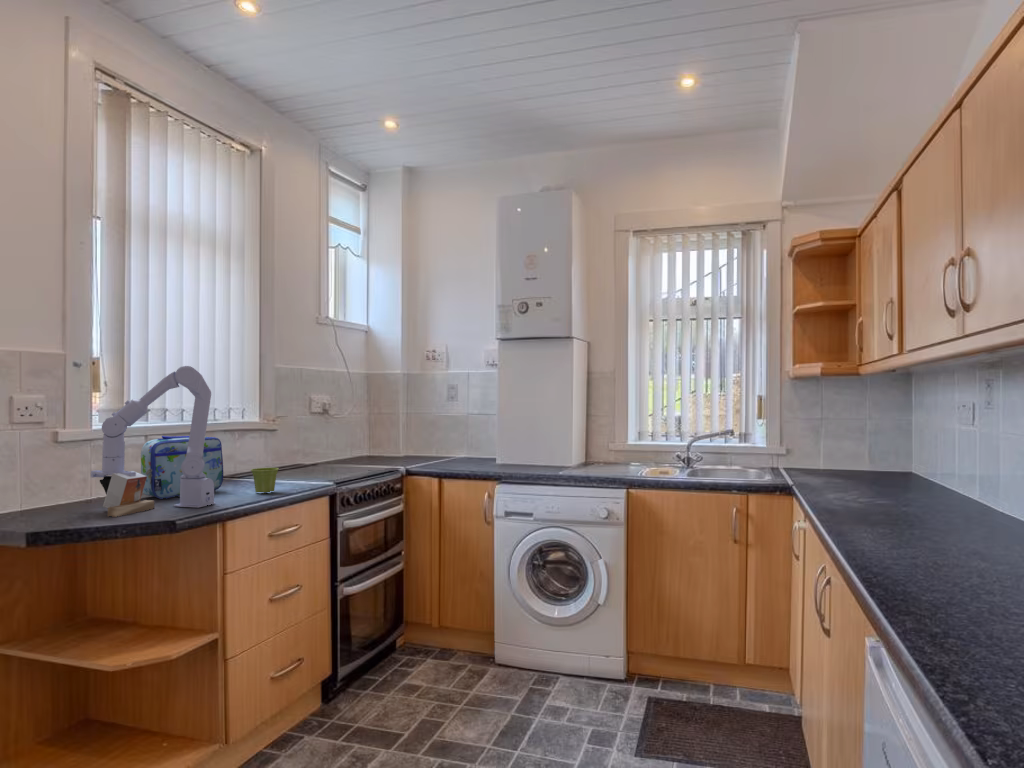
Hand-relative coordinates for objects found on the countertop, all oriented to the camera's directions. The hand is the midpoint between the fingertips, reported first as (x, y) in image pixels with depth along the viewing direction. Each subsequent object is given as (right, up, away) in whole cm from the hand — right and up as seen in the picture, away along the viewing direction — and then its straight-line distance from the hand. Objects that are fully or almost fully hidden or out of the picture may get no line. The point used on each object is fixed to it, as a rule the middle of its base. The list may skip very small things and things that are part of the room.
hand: (112, 501), depth 192 cm
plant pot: (+32, -4, +36) cm, 48 cm away
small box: (+3, -2, -1) cm, 3 cm away
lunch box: (+5, -4, +31) cm, 31 cm away
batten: (+8, -2, -4) cm, 9 cm away
